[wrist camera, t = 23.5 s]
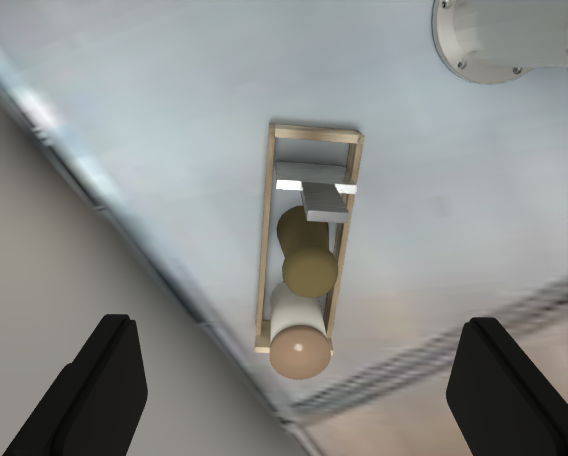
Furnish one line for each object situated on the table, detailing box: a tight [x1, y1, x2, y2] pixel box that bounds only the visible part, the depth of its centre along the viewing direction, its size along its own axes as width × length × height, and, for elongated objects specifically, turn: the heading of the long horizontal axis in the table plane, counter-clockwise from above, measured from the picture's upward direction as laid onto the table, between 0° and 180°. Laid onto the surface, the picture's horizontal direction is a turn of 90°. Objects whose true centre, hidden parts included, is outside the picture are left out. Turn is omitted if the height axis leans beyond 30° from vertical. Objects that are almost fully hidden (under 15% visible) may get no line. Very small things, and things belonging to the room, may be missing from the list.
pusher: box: [276, 161, 357, 223], centre depth 34 cm, size 7×1×14 cm, turn 85°
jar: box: [270, 281, 331, 379], centre depth 43 cm, size 6×6×10 cm
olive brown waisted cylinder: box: [277, 206, 338, 298], centre depth 38 cm, size 6×6×11 cm
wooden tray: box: [255, 124, 364, 356], centre depth 42 cm, size 9×25×5 cm, turn 175°
